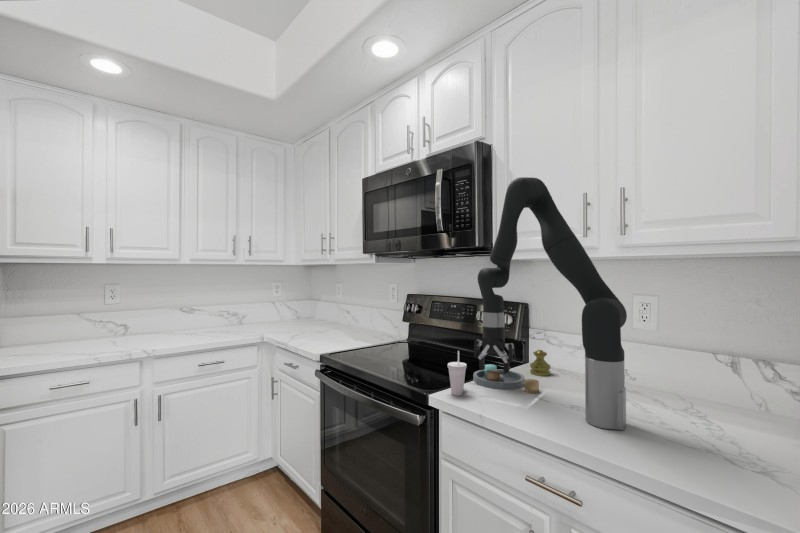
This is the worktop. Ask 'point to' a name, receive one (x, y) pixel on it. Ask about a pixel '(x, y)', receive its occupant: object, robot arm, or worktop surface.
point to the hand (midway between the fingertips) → (494, 371)
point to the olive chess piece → (540, 364)
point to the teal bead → (489, 367)
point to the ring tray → (506, 380)
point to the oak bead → (531, 386)
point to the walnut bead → (493, 375)
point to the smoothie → (457, 376)
